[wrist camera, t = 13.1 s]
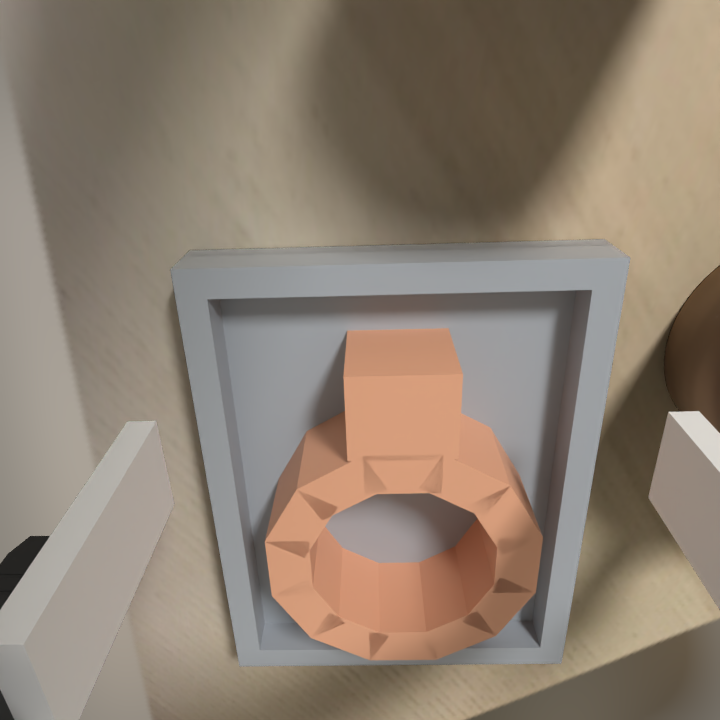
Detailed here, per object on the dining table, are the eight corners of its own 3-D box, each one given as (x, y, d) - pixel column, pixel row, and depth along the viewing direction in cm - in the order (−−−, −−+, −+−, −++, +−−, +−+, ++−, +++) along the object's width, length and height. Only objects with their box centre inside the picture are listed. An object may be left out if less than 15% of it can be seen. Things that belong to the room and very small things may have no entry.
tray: (189, 250, 20) (170, 269, 18) (604, 239, 20) (630, 257, 18) (248, 624, 28) (239, 666, 26) (547, 621, 28) (561, 663, 26)
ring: (507, 587, 26) (527, 659, 23) (291, 589, 26) (280, 661, 23) (534, 326, 20) (564, 372, 17) (262, 332, 21) (243, 378, 18)
